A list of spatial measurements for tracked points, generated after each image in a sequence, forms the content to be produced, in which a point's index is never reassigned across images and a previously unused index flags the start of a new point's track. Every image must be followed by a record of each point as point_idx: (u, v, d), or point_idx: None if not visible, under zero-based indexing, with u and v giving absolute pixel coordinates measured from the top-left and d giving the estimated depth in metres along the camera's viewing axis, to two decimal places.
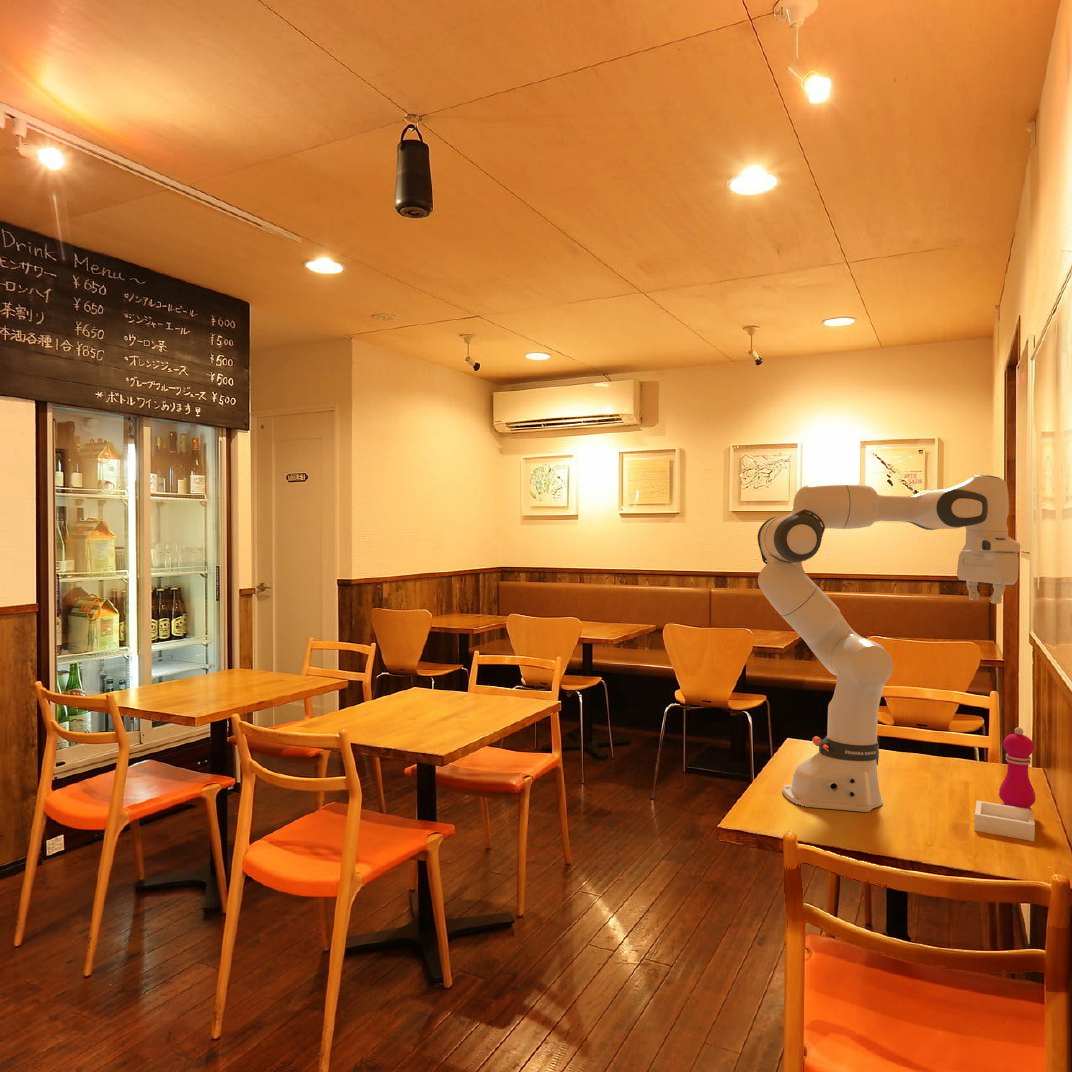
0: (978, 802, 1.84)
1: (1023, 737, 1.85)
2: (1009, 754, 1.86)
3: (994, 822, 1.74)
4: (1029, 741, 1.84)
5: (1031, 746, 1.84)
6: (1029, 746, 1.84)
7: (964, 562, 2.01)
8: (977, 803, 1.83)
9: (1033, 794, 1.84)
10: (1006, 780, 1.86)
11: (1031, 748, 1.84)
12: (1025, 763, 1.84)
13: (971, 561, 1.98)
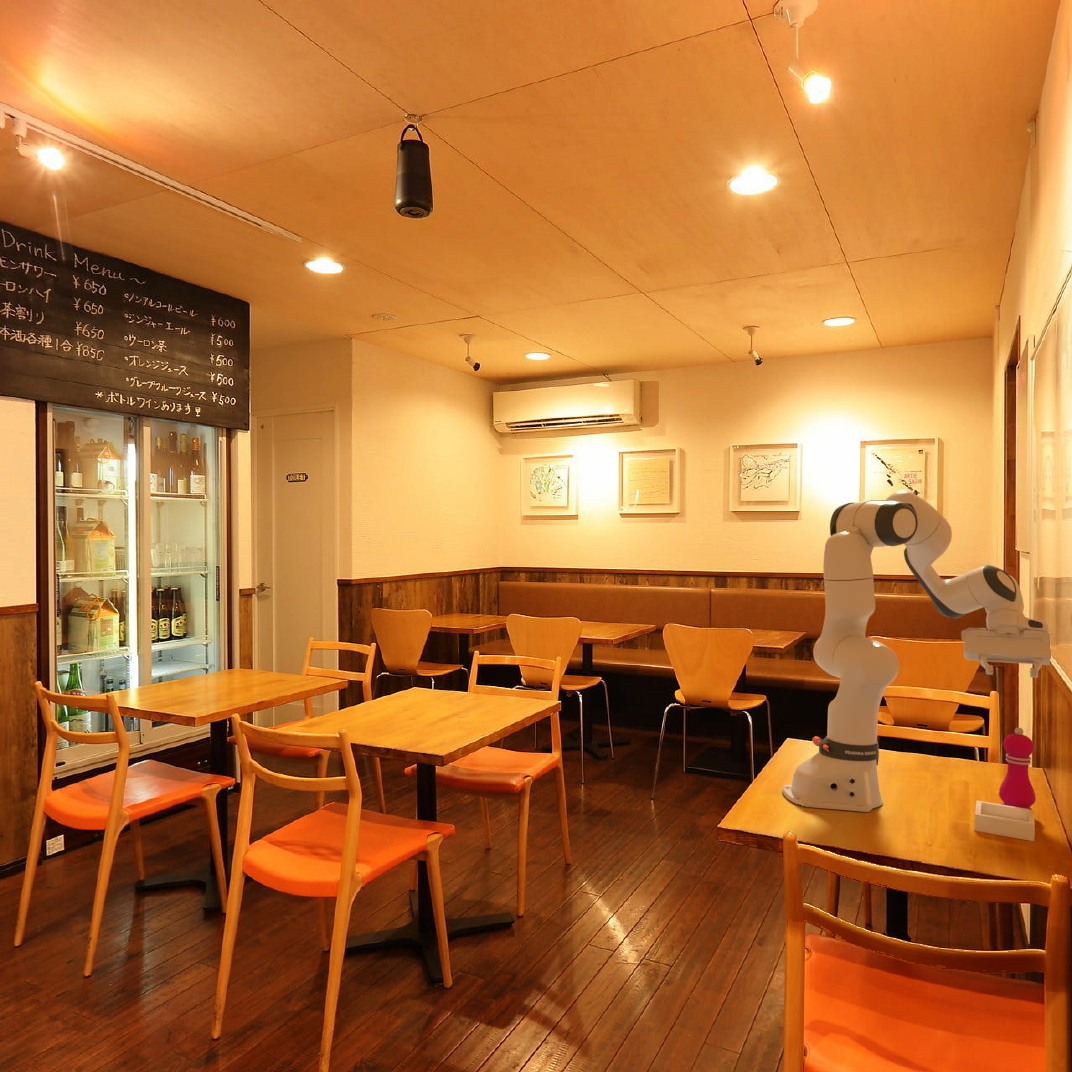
0: (978, 802, 1.84)
1: (1023, 737, 1.85)
2: (1009, 754, 1.86)
3: (994, 822, 1.74)
4: (1029, 741, 1.84)
5: (1031, 746, 1.84)
6: (1029, 746, 1.83)
7: (978, 639, 2.05)
8: (977, 803, 1.83)
9: (1033, 794, 1.84)
10: (1006, 780, 1.86)
11: (1031, 748, 1.84)
12: (1025, 763, 1.84)
13: (993, 638, 2.04)
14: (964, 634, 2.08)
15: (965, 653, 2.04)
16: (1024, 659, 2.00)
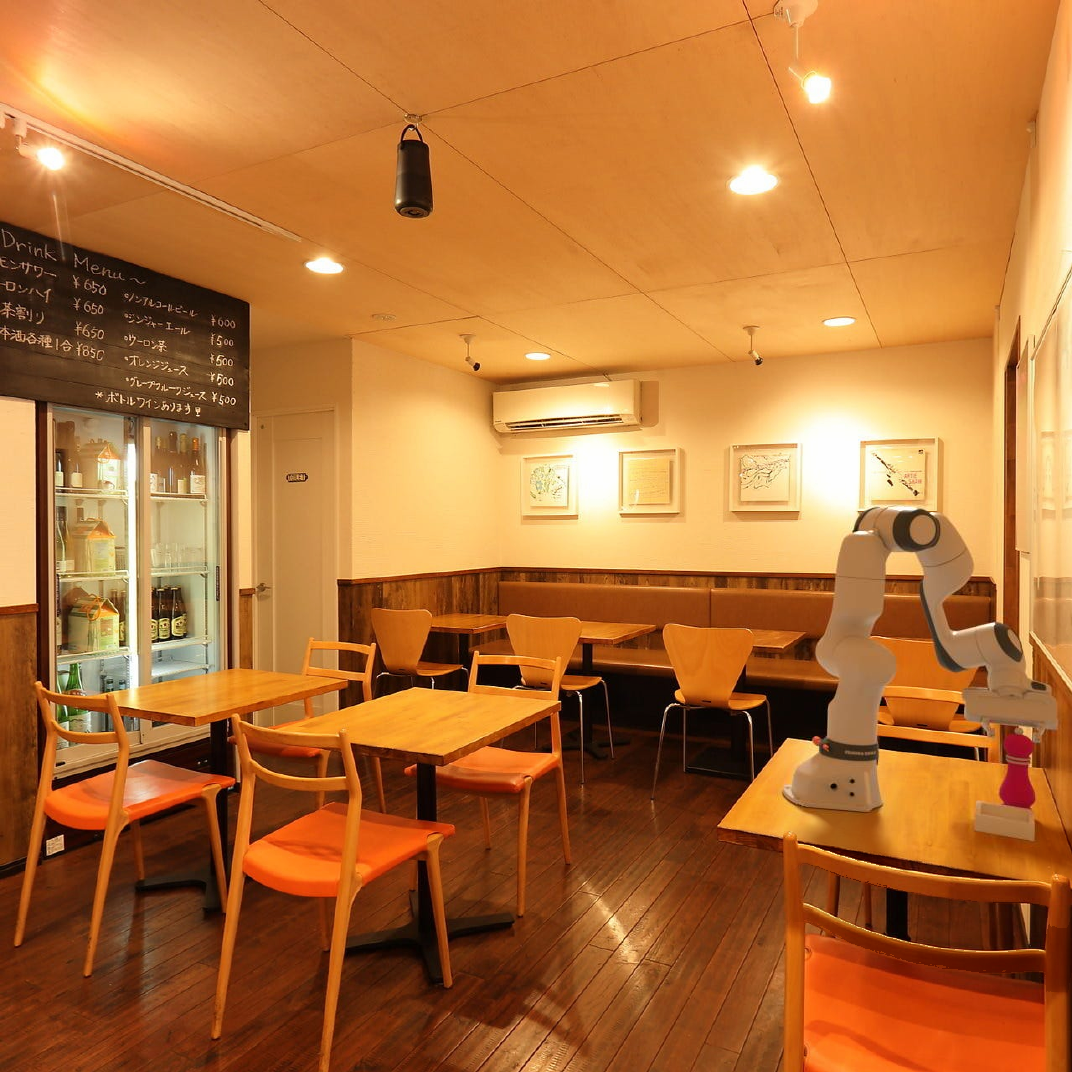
0: (978, 802, 1.84)
1: (1023, 737, 1.85)
2: (1009, 754, 1.86)
3: (994, 822, 1.74)
4: (1029, 741, 1.84)
5: (1031, 746, 1.84)
6: (1029, 746, 1.83)
7: (980, 699, 1.99)
8: (977, 803, 1.83)
9: (1033, 794, 1.84)
10: (1006, 780, 1.86)
11: (1031, 748, 1.84)
12: (1025, 763, 1.84)
13: (995, 699, 1.98)
14: (965, 694, 2.02)
15: (966, 714, 1.98)
16: (1026, 722, 1.94)
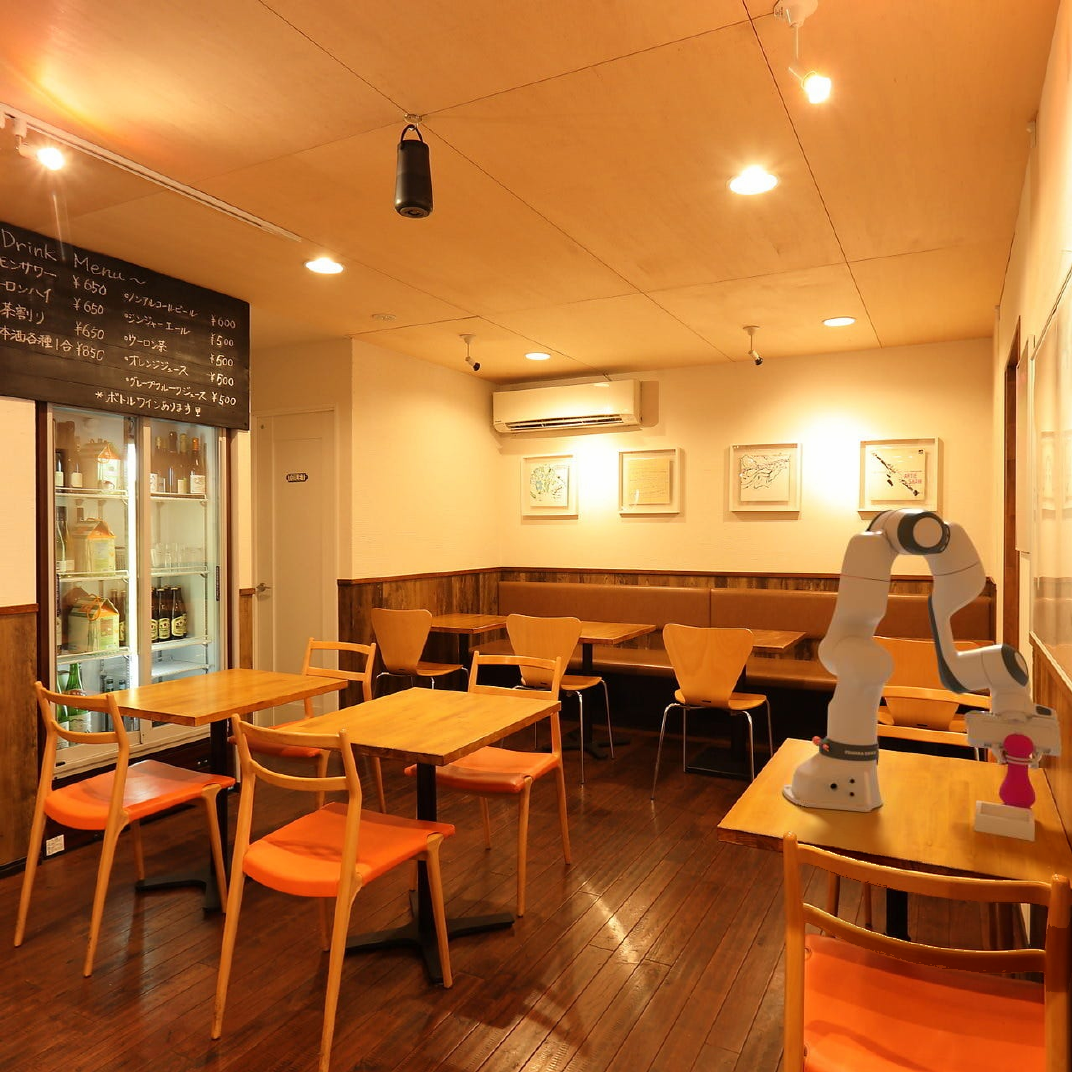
0: (978, 802, 1.84)
1: (1023, 737, 1.85)
2: (1009, 754, 1.86)
3: (994, 822, 1.74)
4: (1029, 741, 1.84)
5: (1031, 746, 1.84)
6: (1029, 746, 1.83)
7: (983, 724, 1.93)
8: (977, 803, 1.83)
9: (1033, 794, 1.84)
10: (1006, 780, 1.86)
11: (1031, 748, 1.84)
12: (1025, 763, 1.84)
13: (998, 724, 1.92)
14: (967, 718, 1.96)
15: (969, 739, 1.92)
16: None
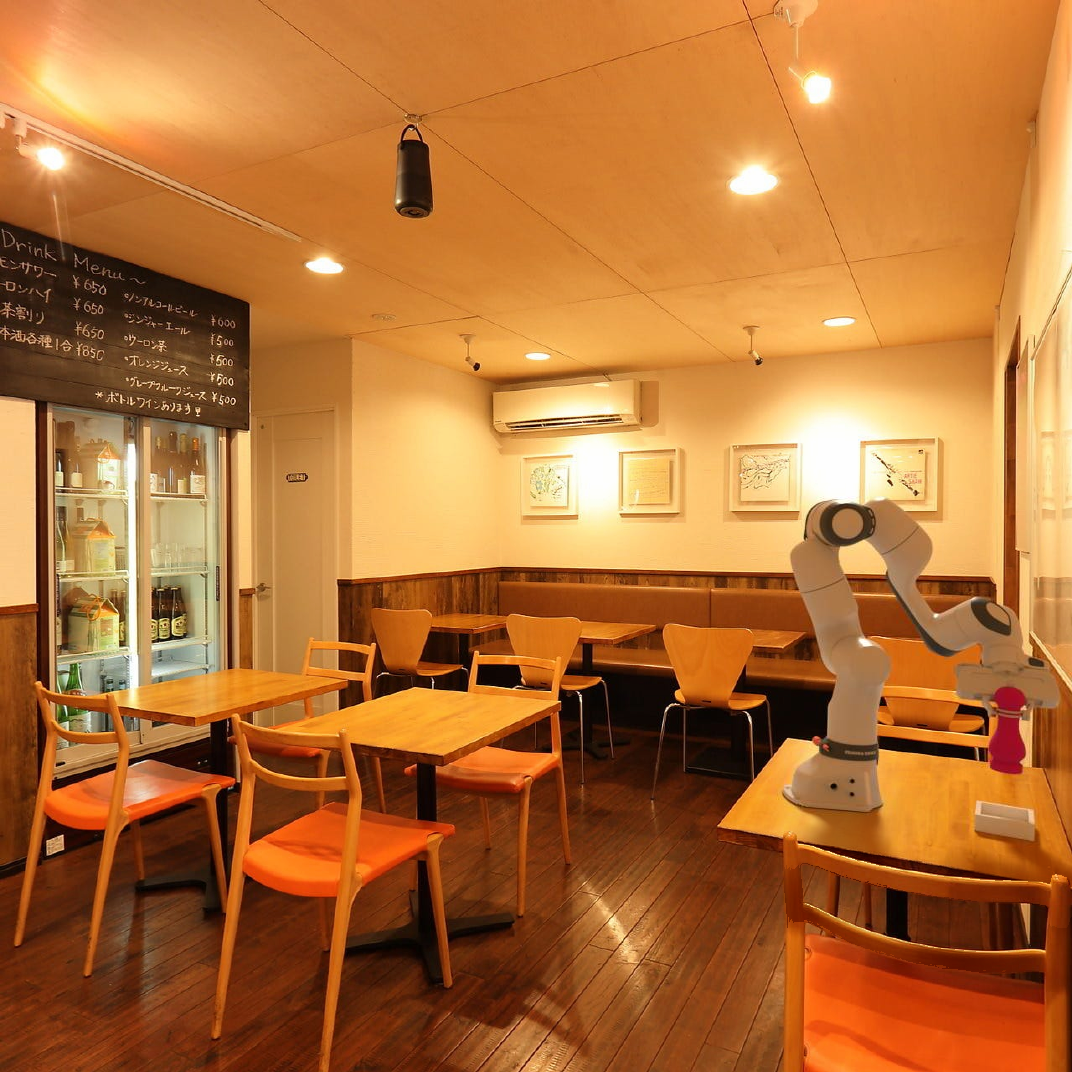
0: (978, 802, 1.84)
1: (1015, 689, 1.78)
2: (1000, 707, 1.79)
3: (994, 822, 1.74)
4: (1021, 693, 1.77)
5: (1023, 698, 1.77)
6: (1020, 698, 1.77)
7: (973, 676, 1.86)
8: (977, 803, 1.83)
9: (1024, 748, 1.77)
10: (996, 733, 1.80)
11: (1022, 701, 1.77)
12: (1016, 716, 1.77)
13: (989, 676, 1.85)
14: (957, 670, 1.90)
15: (958, 691, 1.85)
16: None
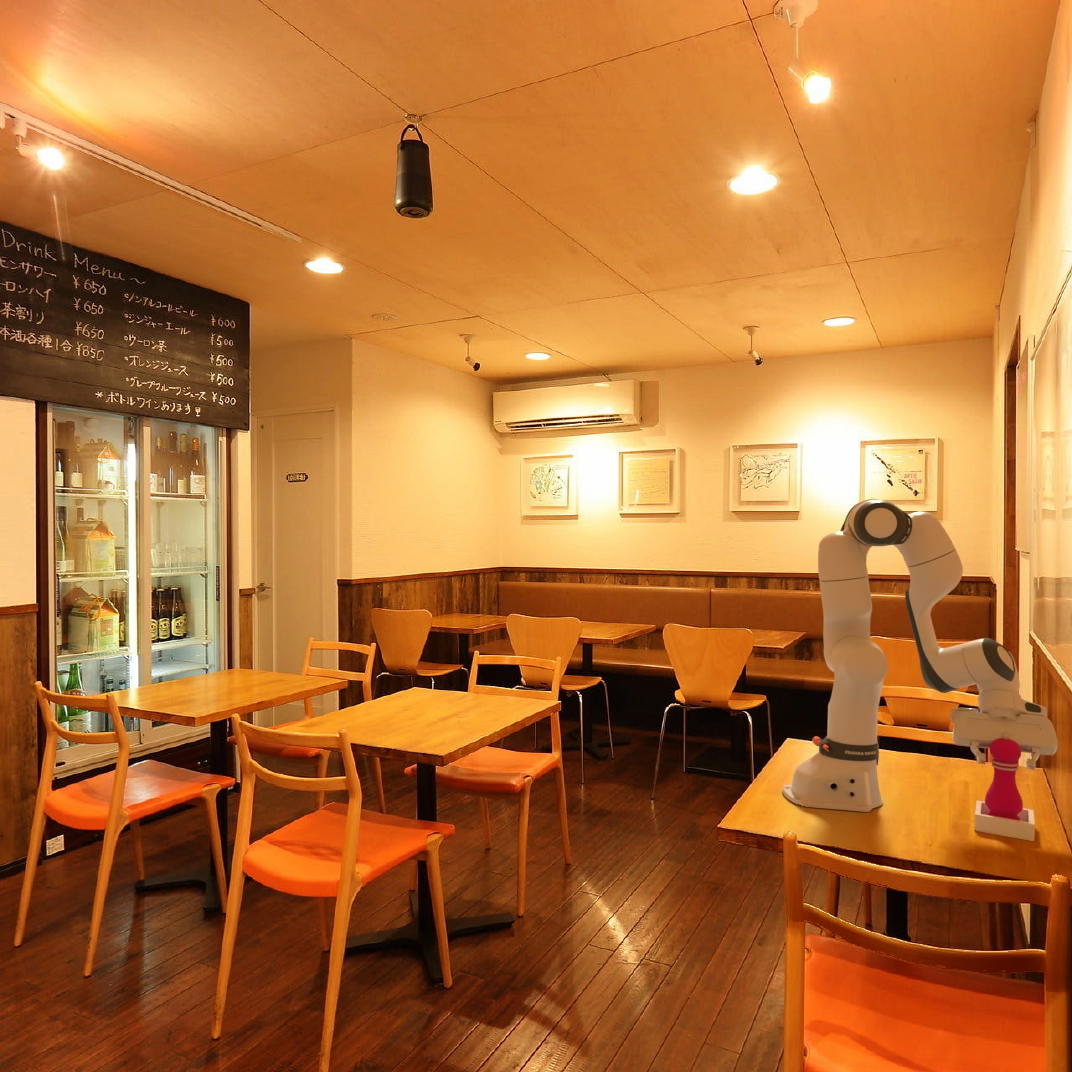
0: (978, 802, 1.84)
1: (1010, 742, 1.76)
2: (995, 759, 1.77)
3: (994, 822, 1.74)
4: (1016, 746, 1.75)
5: (1018, 751, 1.75)
6: (1016, 751, 1.75)
7: (969, 722, 1.84)
8: (977, 803, 1.83)
9: (1020, 802, 1.75)
10: (992, 786, 1.78)
11: (1018, 753, 1.75)
12: (1012, 769, 1.75)
13: (985, 722, 1.83)
14: (953, 715, 1.87)
15: (954, 737, 1.83)
16: (1020, 747, 1.80)
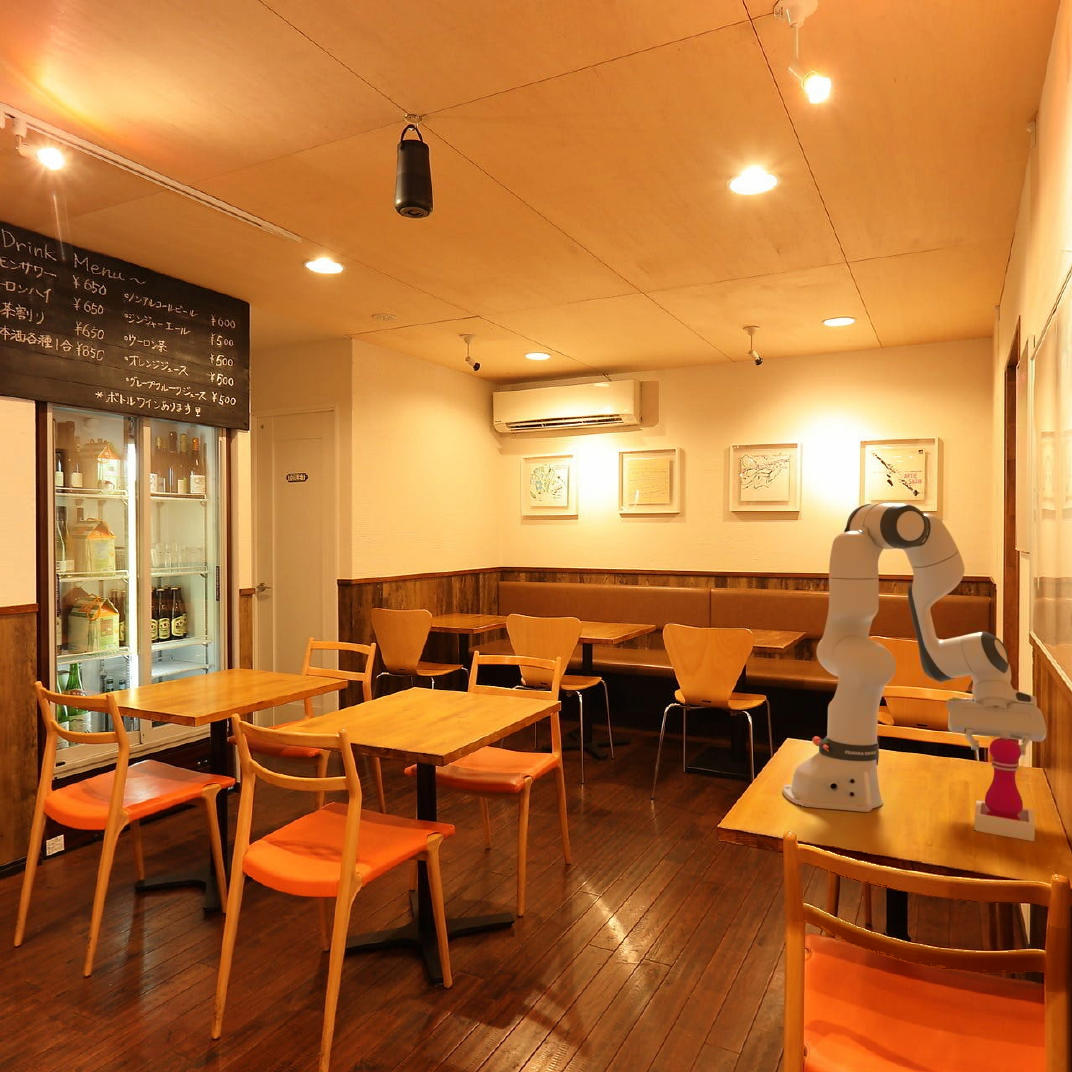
0: (978, 802, 1.84)
1: (1010, 742, 1.76)
2: (995, 759, 1.77)
3: (994, 822, 1.74)
4: (1016, 746, 1.75)
5: (1018, 751, 1.75)
6: (1016, 751, 1.75)
7: (964, 711, 1.96)
8: (977, 803, 1.83)
9: (1020, 802, 1.75)
10: (992, 786, 1.78)
11: (1018, 753, 1.75)
12: (1012, 769, 1.75)
13: (979, 711, 1.95)
14: (949, 705, 1.99)
15: (950, 725, 1.95)
16: (1011, 734, 1.91)
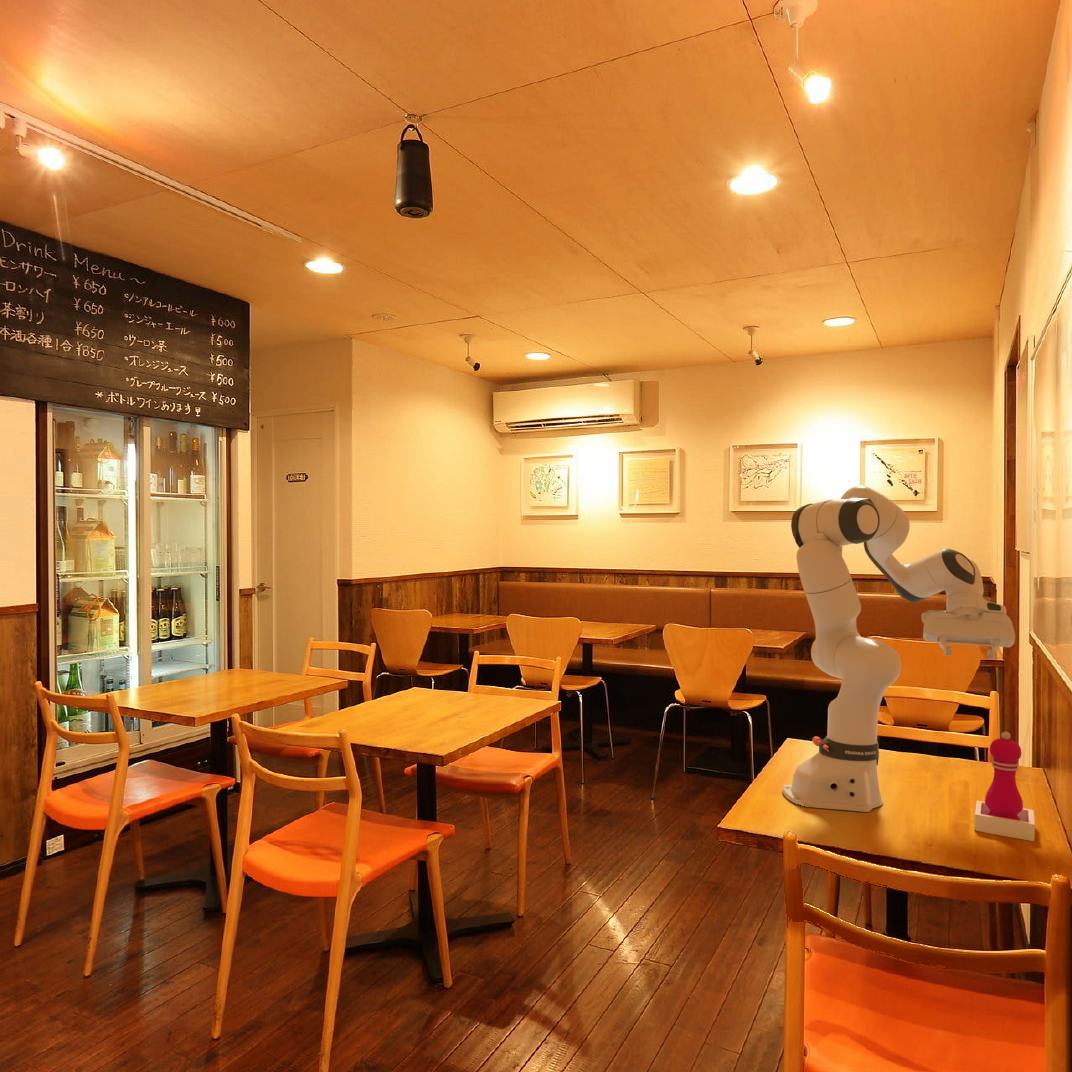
0: (978, 802, 1.84)
1: (1010, 742, 1.76)
2: (995, 759, 1.77)
3: (994, 822, 1.74)
4: (1016, 746, 1.75)
5: (1018, 751, 1.75)
6: (1016, 751, 1.75)
7: (938, 621, 2.06)
8: (977, 803, 1.83)
9: (1020, 802, 1.75)
10: (993, 786, 1.77)
11: (1018, 753, 1.75)
12: (1012, 769, 1.75)
13: (952, 620, 2.05)
14: (924, 617, 2.09)
15: (924, 635, 2.05)
16: (982, 641, 2.01)
